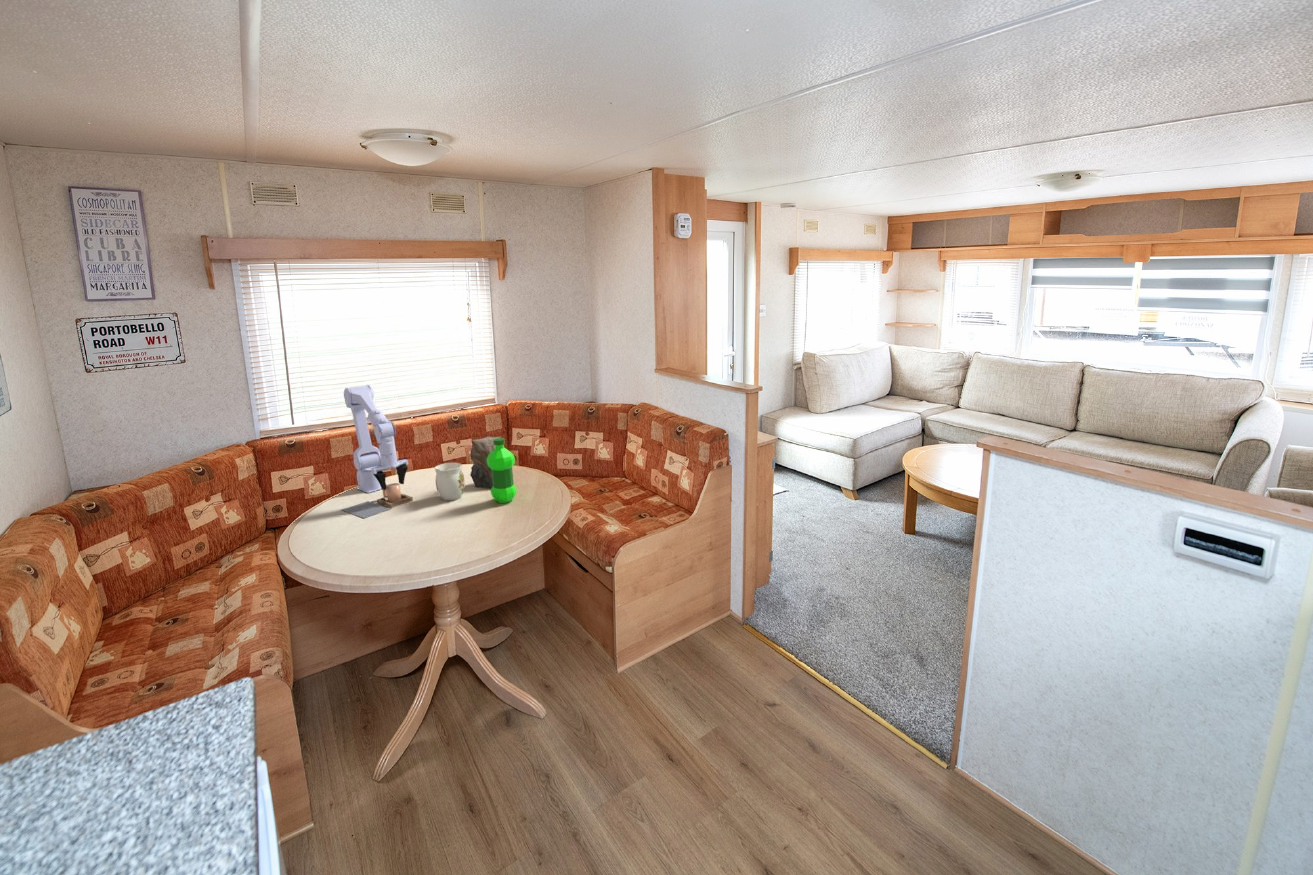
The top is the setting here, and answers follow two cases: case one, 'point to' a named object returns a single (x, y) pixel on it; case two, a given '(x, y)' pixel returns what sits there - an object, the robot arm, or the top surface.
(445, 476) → the pitcher
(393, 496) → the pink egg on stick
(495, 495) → the plastic bottle
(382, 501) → the holder
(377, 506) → the mat
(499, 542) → the top surface
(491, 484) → the owl
